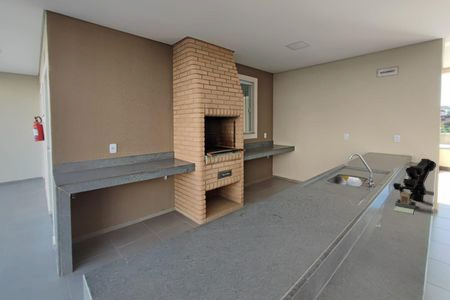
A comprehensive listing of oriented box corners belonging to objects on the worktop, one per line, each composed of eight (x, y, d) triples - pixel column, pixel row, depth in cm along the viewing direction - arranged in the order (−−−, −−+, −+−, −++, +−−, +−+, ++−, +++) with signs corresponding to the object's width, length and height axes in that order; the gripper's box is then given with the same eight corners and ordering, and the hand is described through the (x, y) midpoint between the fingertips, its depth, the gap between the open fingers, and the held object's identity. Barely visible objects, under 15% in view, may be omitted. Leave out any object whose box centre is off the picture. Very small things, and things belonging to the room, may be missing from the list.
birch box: (402, 204, 165) (403, 191, 164) (411, 206, 161) (412, 192, 160) (399, 205, 162) (400, 192, 161) (408, 207, 158) (409, 194, 157)
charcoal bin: (397, 202, 169) (397, 199, 169) (415, 206, 162) (416, 202, 161) (395, 206, 161) (395, 202, 161) (414, 210, 154) (414, 206, 154)
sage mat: (395, 207, 160) (395, 206, 160) (413, 210, 153) (413, 209, 153) (393, 211, 153) (393, 209, 153) (412, 214, 146) (412, 213, 146)
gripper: (394, 172, 169) (387, 188, 165) (426, 176, 153) (419, 194, 149) (398, 181, 174) (391, 197, 169) (429, 186, 158) (422, 203, 154)
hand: (405, 198), depth 160 cm, fingers closed on birch box, 5 cm apart
